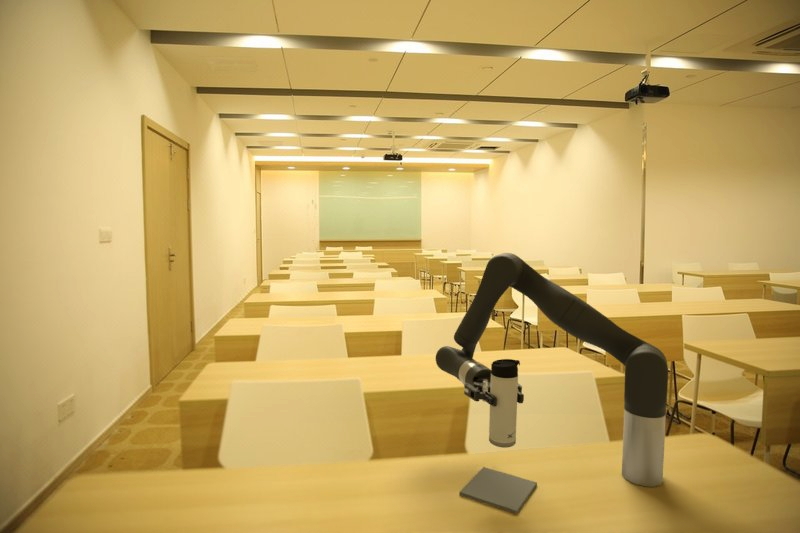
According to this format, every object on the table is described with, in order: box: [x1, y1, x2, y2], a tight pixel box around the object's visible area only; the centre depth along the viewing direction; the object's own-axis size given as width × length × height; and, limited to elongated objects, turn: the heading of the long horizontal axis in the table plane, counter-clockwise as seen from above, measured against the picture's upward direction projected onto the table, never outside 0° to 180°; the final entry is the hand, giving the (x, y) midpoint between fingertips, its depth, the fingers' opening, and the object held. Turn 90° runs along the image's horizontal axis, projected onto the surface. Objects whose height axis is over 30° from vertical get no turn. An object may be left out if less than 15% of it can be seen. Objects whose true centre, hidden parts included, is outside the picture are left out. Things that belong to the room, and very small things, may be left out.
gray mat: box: [458, 466, 538, 515], centre depth 116 cm, size 14×14×1 cm
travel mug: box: [488, 358, 521, 449], centre depth 114 cm, size 6×7×20 cm
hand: (508, 400), depth 112 cm, fingers closed on travel mug, 6 cm apart
